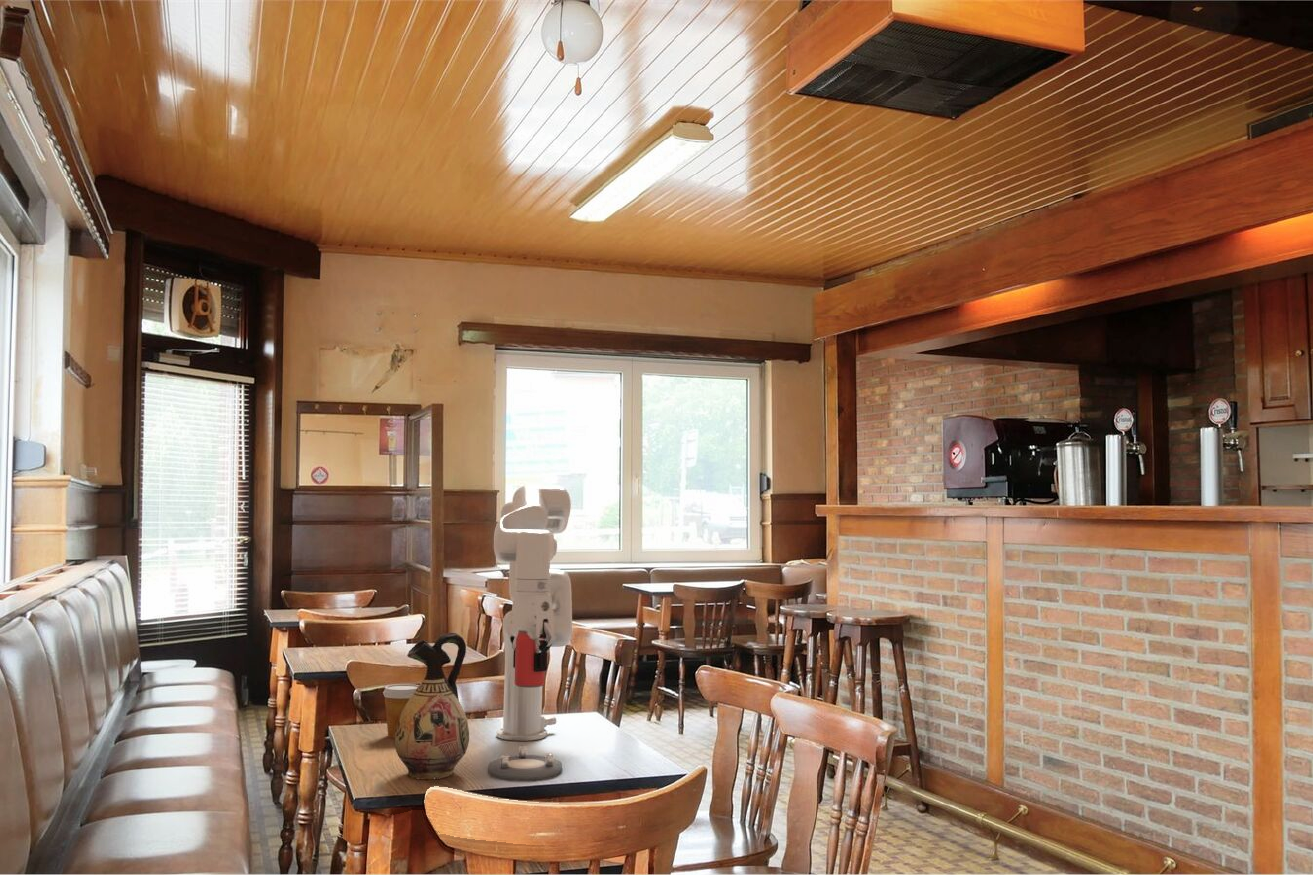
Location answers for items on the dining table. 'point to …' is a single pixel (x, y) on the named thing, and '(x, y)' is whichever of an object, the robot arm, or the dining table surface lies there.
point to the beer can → (526, 663)
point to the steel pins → (522, 756)
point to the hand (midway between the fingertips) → (529, 668)
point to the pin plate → (525, 768)
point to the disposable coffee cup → (396, 704)
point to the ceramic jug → (434, 715)
